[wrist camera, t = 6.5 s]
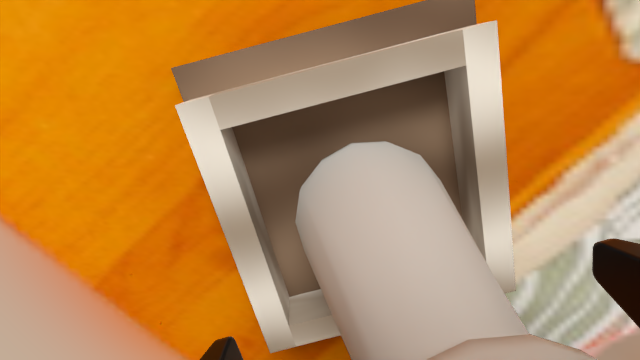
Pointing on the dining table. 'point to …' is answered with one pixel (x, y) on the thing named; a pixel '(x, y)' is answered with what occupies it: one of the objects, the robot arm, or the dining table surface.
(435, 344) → the salt shaker
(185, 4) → the dining table surface
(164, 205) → the dining table surface
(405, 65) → the shaker stand
